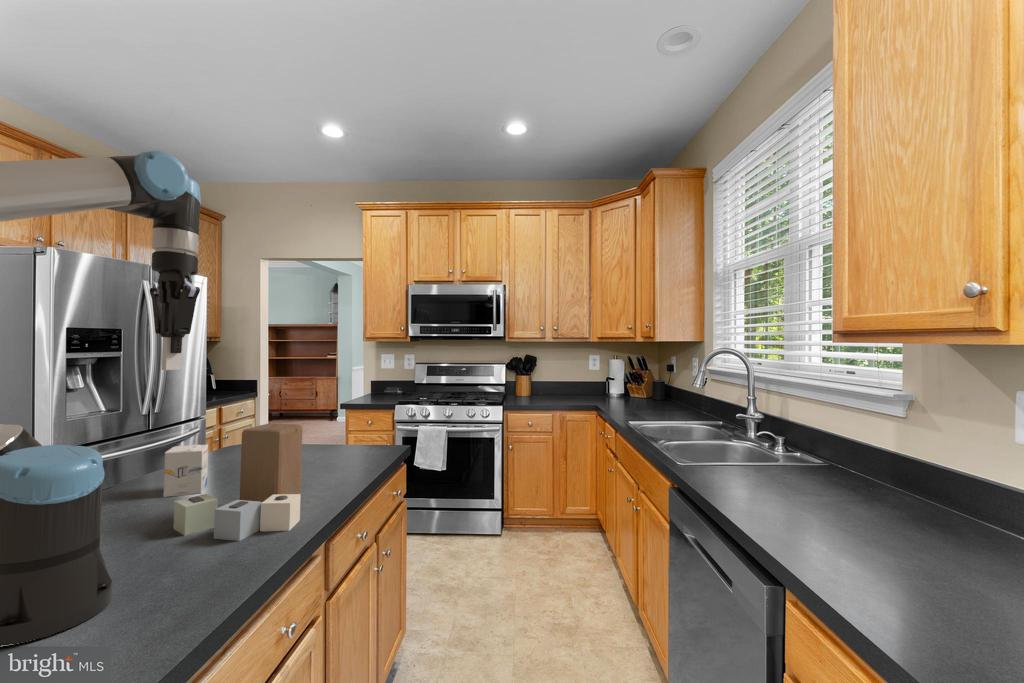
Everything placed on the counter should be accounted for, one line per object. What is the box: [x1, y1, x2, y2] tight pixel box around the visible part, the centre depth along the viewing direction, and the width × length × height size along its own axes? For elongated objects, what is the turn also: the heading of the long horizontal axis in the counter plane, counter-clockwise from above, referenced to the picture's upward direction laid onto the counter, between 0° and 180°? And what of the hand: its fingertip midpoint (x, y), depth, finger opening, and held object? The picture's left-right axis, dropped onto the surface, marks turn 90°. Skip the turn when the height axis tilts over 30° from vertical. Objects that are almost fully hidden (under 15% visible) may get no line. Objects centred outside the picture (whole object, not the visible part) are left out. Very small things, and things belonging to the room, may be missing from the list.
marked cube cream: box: [259, 493, 302, 532], centre depth 98 cm, size 6×6×6 cm
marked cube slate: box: [213, 499, 262, 542], centre depth 94 cm, size 6×6×6 cm
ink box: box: [162, 443, 209, 498], centre depth 121 cm, size 9×8×12 cm
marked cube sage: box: [173, 493, 219, 537], centre depth 96 cm, size 6×6×6 cm
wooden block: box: [239, 423, 304, 502], centre depth 108 cm, size 10×10×20 cm
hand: (171, 369), depth 90 cm, fingers closed
